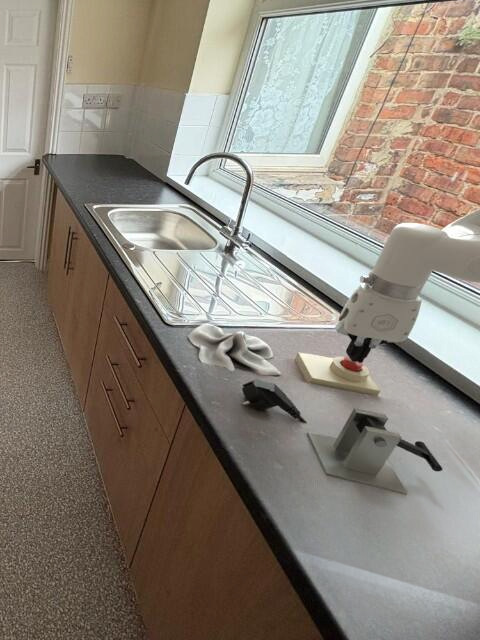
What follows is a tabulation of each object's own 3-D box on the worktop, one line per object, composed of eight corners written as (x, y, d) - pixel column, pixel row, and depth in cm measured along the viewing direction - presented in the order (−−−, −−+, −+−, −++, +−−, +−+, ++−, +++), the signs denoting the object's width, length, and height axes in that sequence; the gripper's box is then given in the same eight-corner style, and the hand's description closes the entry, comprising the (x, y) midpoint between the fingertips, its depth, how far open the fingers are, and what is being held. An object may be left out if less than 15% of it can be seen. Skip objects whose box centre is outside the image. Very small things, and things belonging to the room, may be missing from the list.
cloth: (186, 321, 112) (191, 302, 109) (266, 336, 106) (273, 316, 103) (192, 376, 94) (199, 354, 91) (289, 398, 88) (300, 376, 85)
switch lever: (416, 449, 71) (429, 441, 70) (434, 474, 67) (448, 466, 66) (351, 418, 72) (362, 410, 71) (365, 441, 68) (377, 433, 67)
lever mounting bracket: (376, 452, 76) (403, 410, 71) (403, 498, 68) (436, 454, 63) (304, 436, 79) (326, 395, 74) (323, 478, 71) (348, 435, 67)
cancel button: (355, 364, 91) (359, 357, 91) (362, 373, 89) (366, 367, 88) (338, 360, 92) (341, 354, 92) (344, 370, 90) (348, 364, 89)
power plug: (313, 435, 78) (263, 386, 80) (275, 446, 83) (228, 399, 85) (312, 415, 82) (265, 369, 84) (276, 427, 87) (232, 383, 89)
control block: (356, 370, 95) (363, 356, 93) (376, 398, 87) (384, 384, 85) (294, 359, 98) (300, 345, 97) (308, 385, 91) (315, 371, 89)
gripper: (355, 288, 80) (319, 361, 89) (454, 302, 76) (406, 377, 84) (338, 270, 87) (306, 340, 95) (429, 282, 82) (387, 354, 91)
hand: (353, 357), depth 90 cm, fingers closed
